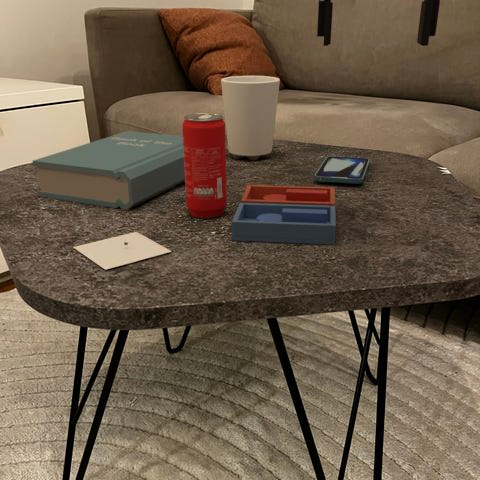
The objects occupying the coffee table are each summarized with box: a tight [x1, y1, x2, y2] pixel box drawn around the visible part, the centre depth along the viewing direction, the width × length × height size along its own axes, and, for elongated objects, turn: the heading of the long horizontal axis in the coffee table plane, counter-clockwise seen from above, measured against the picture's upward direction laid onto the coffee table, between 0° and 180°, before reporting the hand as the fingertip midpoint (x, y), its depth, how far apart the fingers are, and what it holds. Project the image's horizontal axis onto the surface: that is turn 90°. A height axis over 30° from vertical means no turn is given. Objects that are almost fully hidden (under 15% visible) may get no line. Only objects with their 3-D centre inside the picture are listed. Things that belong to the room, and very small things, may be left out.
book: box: [31, 130, 185, 211], centre depth 88 cm, size 23×16×5 cm
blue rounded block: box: [257, 208, 327, 224], centre depth 69 cm, size 8×3×2 cm, turn 83°
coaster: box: [72, 231, 173, 271], centre depth 65 cm, size 8×8×1 cm
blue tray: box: [231, 202, 337, 246], centre depth 70 cm, size 12×7×2 cm, turn 83°
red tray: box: [240, 184, 336, 207], centre depth 77 cm, size 12×7×2 cm, turn 83°
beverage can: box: [181, 112, 228, 219], centre depth 74 cm, size 5×5×12 cm
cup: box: [220, 75, 281, 162], centre depth 101 cm, size 10×10×13 cm
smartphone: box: [313, 155, 371, 184], centre depth 94 cm, size 7×1×15 cm
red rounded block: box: [263, 189, 327, 202], centre depth 76 cm, size 8×3×2 cm, turn 82°
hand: (374, 44), depth 61 cm, fingers open, 9 cm apart
